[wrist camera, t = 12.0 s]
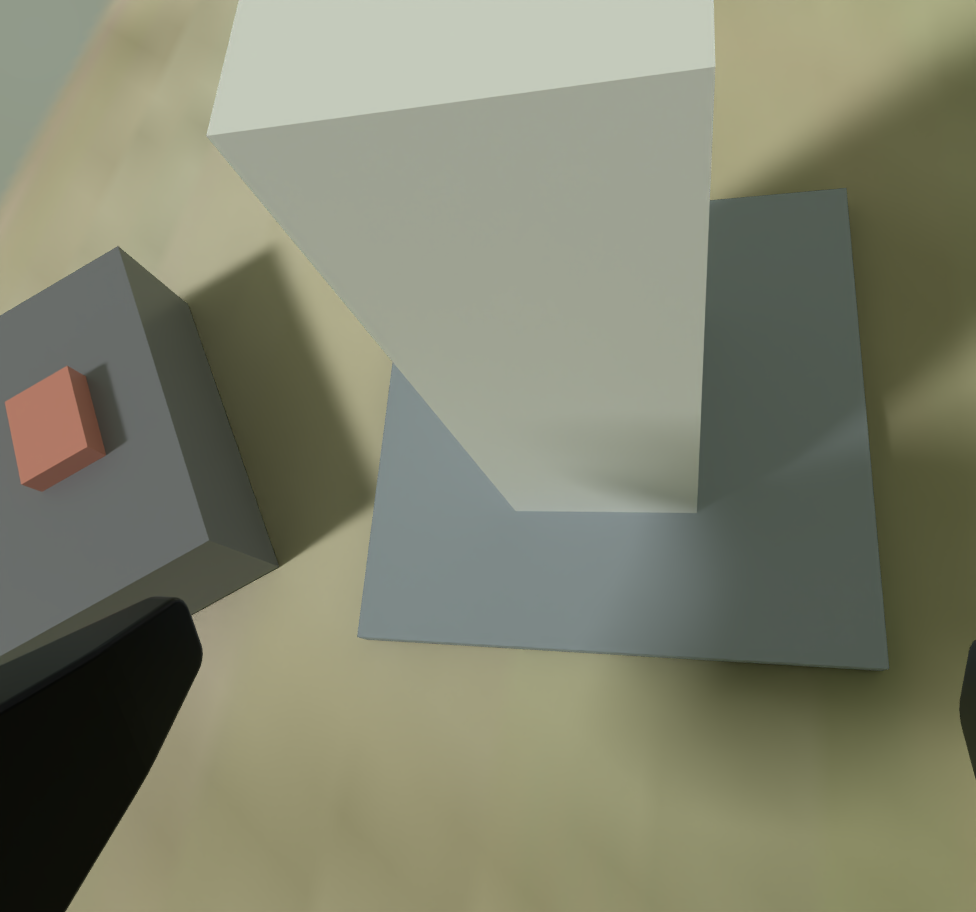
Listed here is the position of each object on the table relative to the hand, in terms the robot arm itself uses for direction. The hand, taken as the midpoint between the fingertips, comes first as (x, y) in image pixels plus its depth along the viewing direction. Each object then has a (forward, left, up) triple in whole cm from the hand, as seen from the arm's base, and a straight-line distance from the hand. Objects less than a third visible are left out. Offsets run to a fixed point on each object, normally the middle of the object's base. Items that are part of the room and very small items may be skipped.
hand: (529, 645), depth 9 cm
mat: (+2, -6, -8) cm, 10 cm away
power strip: (+17, +2, -8) cm, 19 cm away
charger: (+2, -6, -8) cm, 10 cm away
